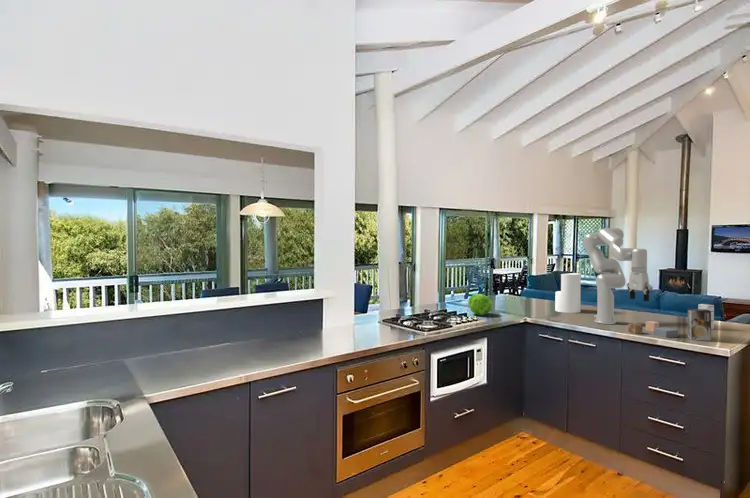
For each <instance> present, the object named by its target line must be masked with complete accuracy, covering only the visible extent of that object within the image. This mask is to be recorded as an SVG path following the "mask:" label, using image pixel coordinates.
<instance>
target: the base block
mask: <svg viewBox="0 0 750 498" xmlns="http://www.w3.org/2000/svg"><path fill="white" fill-rule="evenodd" d="M653 335H654V336H658V337H662V338H665V339H666V338H668V337H669V338H678V337H679V330H678V329H674V328H670V327H666V326H665V327H663V326H662V327H659V328H654V331H653ZM669 338H668V339H669Z"/></svg>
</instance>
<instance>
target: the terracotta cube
mask: <svg viewBox="0 0 750 498" xmlns="http://www.w3.org/2000/svg"><path fill="white" fill-rule="evenodd" d="M654 328H660V322H658V321H652V320H648V321H645V331H648V332H649V331H650V332H654Z"/></svg>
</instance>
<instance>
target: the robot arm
mask: <svg viewBox="0 0 750 498" xmlns="http://www.w3.org/2000/svg"><path fill="white" fill-rule="evenodd" d="M624 235H625V234H624V232H623V230H622V229H621V228H619V227H605V228H602V229H600V230H599V231H598V232H592V233H591V232H590V233H588V234H585V235H584V237H583V241H582V243H583V248H584V249H585V251H586V253H587V256H588V258H589V260H590V263H591V266H592V268H593V271H594V272H596V274H598V275H597V276H596V278H595V283H596V284H595V285H596V290H597V299H596V300H597V301H596V303H597V304H596V305H597V308H596V309H597V314H595V315H593V316H594V318H595V319H594V323H597V324H603V325H615V324H617V320H615V294H614V292H613V290H612V289H622V288H624V287H625V286H626V287H627V290H628V292H629V299H630V300H635V299H636V291H642V292H643V293H644V294H643V302H649V301H650V294H651V293H652V291H653V288H654V287H653V285H651V284H650V281H649V273H648V251H647V249H645V248H636V247H631V248H630V247H622V246H623V245H624ZM597 246H599V247H601V246H603V247H605V246H608V252H609V255H611V256H612V257H613V258H606V257H605V254H604V253H603V250H601V249H600V248H599V247H597ZM625 261H626V262H631V272H630V273H629V280H628V283H626V278H625V275H624V271H623V270H622V266H621V265H620V262H625Z"/></svg>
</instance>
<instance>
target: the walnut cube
mask: <svg viewBox="0 0 750 498" xmlns="http://www.w3.org/2000/svg"><path fill="white" fill-rule="evenodd" d="M627 332H628V333H629V332H630V333H629V334H633V335H637V334H639V335H641V334H642V335H643V324H640V323H635V322H634V323H633V322H632V323H628V325H627Z"/></svg>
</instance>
